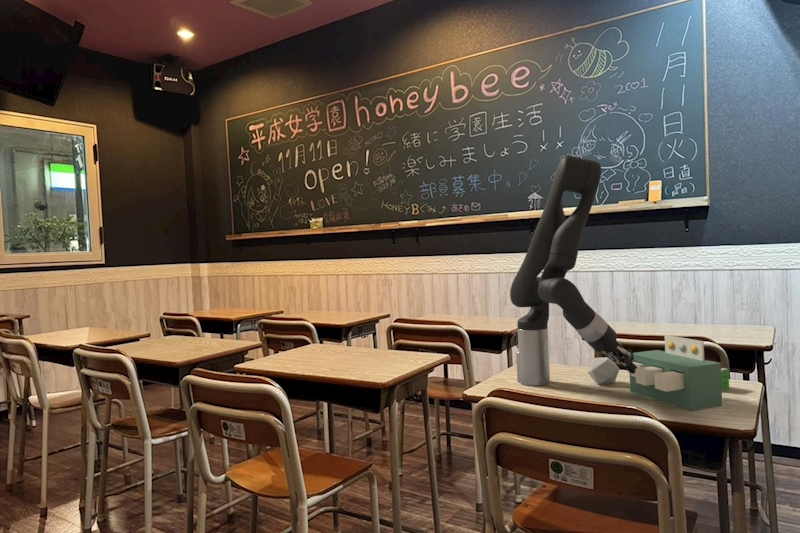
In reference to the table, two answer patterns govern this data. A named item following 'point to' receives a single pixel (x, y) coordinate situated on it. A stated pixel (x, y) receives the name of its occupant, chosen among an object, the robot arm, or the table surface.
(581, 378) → the table surface
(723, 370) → the puzzle toy
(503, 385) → the table surface
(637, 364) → the button left
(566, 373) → the table surface
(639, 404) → the table surface
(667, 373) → the button right
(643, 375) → the button mid
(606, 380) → the die
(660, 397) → the console
